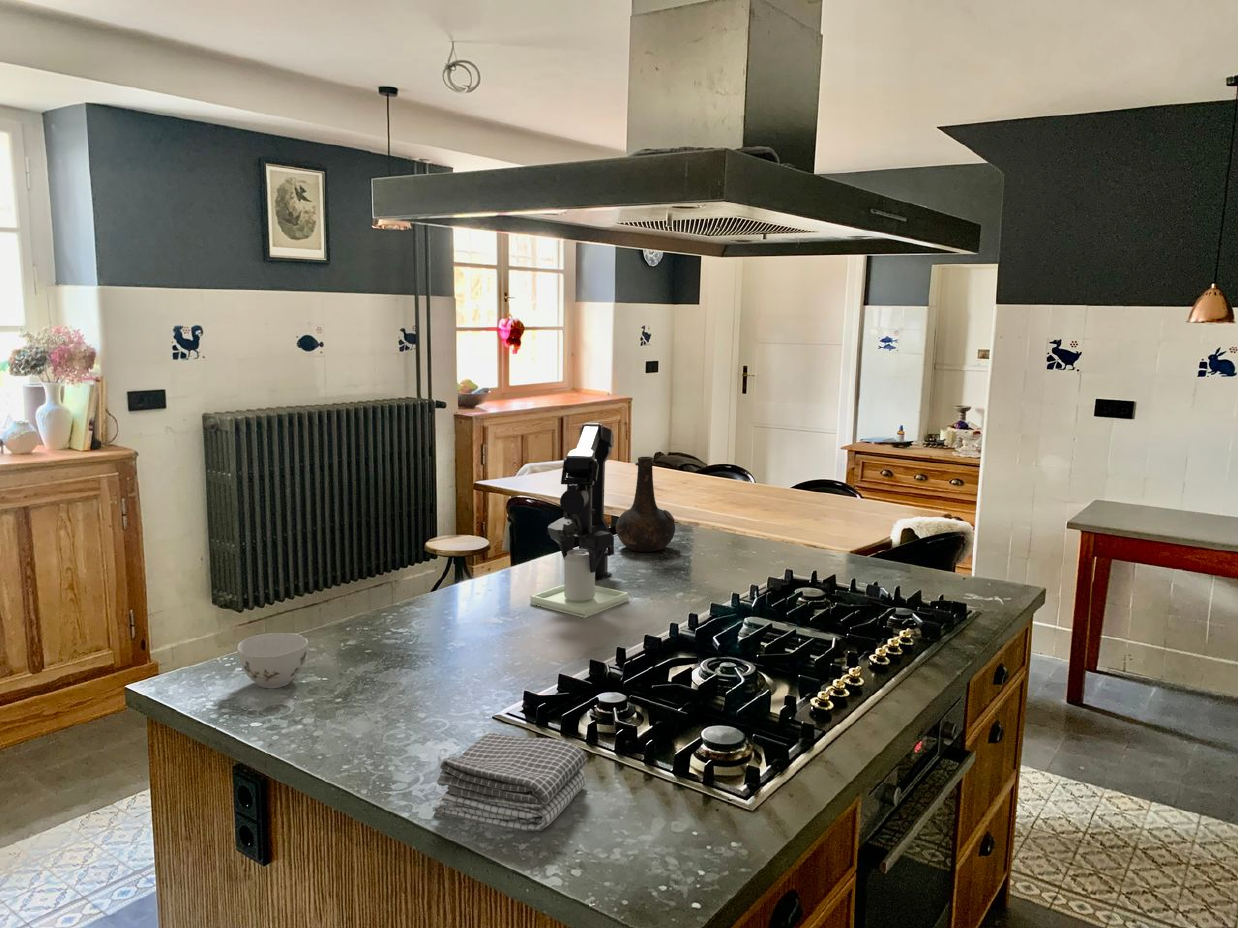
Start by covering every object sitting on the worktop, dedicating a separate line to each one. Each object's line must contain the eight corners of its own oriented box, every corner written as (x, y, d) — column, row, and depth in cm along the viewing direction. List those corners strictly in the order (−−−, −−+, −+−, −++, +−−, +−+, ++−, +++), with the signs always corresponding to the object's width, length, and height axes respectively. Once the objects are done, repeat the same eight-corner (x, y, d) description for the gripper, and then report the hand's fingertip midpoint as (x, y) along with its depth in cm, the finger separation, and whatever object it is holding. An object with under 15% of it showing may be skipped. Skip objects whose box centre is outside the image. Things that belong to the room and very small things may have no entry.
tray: (575, 588, 240) (575, 580, 240) (628, 600, 230) (628, 592, 230) (530, 603, 226) (530, 595, 226) (585, 617, 216) (585, 609, 216)
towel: (548, 839, 125) (548, 785, 124) (428, 814, 131) (427, 762, 130) (589, 787, 139) (590, 737, 138) (480, 766, 145) (479, 718, 144)
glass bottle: (669, 557, 271) (670, 462, 267) (609, 553, 275) (610, 460, 271) (679, 543, 288) (681, 454, 284) (623, 540, 292) (624, 451, 288)
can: (596, 594, 231) (596, 548, 230) (593, 604, 224) (593, 555, 222) (566, 593, 232) (566, 547, 230) (562, 603, 225) (562, 554, 223)
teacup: (278, 700, 168) (276, 658, 167) (223, 690, 173) (221, 649, 171) (331, 671, 182) (329, 632, 181) (279, 662, 187) (277, 624, 185)
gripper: (529, 504, 226) (530, 566, 228) (580, 516, 212) (579, 582, 215) (565, 498, 233) (564, 559, 236) (615, 510, 220) (615, 574, 222)
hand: (579, 568), depth 227 cm, fingers open, 9 cm apart
